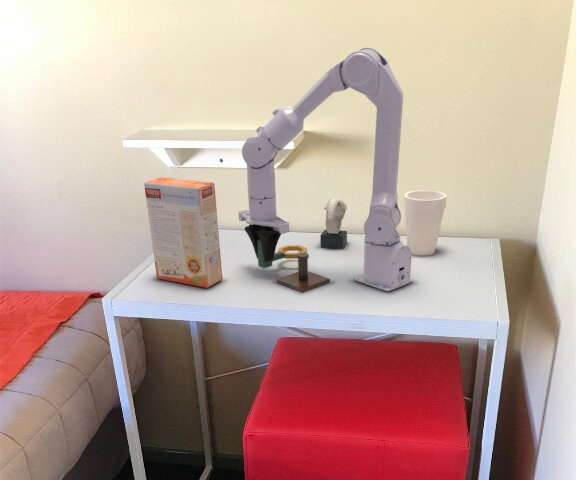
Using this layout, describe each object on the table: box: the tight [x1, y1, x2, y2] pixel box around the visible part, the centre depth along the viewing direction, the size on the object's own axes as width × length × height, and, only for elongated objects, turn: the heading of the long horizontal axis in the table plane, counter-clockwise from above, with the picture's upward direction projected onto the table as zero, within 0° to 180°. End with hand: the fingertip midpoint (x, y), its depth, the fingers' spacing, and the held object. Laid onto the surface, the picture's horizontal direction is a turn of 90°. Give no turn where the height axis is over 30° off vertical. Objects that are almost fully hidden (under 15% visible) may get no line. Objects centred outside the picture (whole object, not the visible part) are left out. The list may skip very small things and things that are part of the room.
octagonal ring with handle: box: [257, 239, 308, 269], centre depth 146 cm, size 12×6×6 cm, turn 131°
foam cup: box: [403, 189, 447, 256], centre depth 152 cm, size 10×9×13 cm
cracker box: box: [143, 176, 223, 289], centre depth 139 cm, size 14×6×21 cm, turn 59°
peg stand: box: [276, 252, 331, 293], centre depth 139 cm, size 8×8×6 cm
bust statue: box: [320, 198, 348, 250], centre depth 158 cm, size 6×8×11 cm
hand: (265, 259), depth 144 cm, fingers closed on octagonal ring with handle
